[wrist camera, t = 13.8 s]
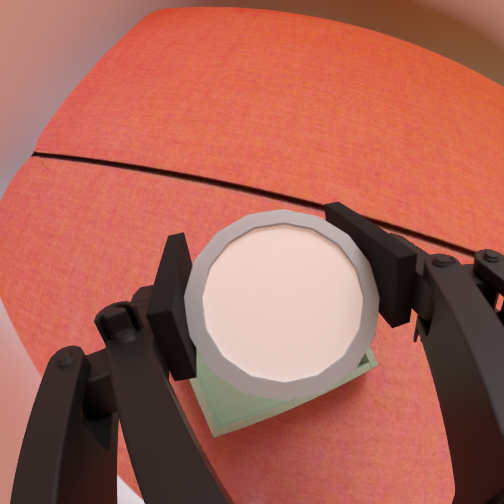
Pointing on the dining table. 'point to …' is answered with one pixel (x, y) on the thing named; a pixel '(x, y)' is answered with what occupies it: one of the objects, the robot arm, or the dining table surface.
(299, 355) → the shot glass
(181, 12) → the dining table surface
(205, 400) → the green tray
